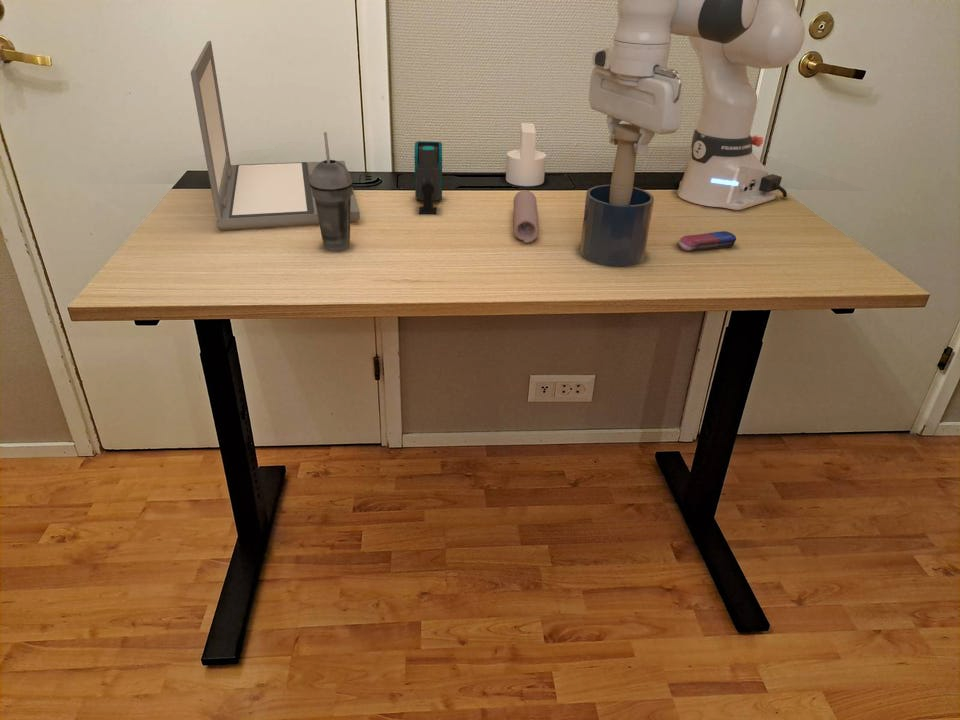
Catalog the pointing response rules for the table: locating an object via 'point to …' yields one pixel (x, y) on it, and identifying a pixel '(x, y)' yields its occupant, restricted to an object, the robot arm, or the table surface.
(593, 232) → the open cylindrical bucket
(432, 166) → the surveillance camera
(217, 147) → the laptop
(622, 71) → the robot arm
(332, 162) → the beverage cup
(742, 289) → the table surface
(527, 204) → the coil
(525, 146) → the cylinder with rectangular tab
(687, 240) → the eraser
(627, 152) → the handle
